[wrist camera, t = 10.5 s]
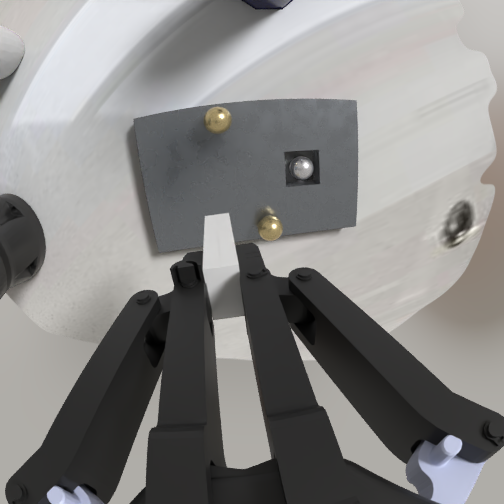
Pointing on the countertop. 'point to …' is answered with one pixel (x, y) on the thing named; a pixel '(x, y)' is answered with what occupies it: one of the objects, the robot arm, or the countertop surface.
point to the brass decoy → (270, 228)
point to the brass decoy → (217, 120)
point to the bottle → (268, 4)
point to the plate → (249, 168)
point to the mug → (10, 51)
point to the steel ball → (301, 168)
